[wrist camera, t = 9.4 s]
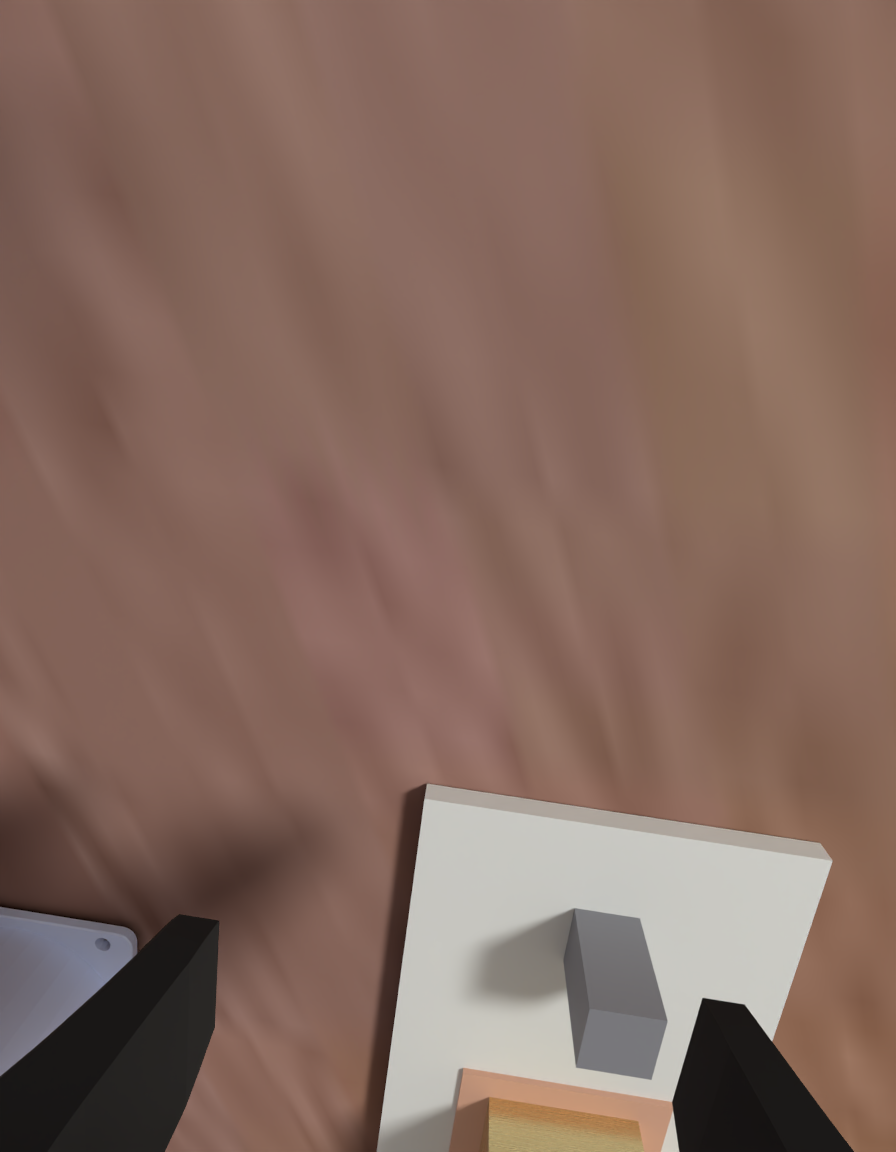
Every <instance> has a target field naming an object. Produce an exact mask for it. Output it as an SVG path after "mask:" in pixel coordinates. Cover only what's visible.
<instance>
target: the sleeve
mask: <svg viewBox="0 0 896 1152" xmlns="http://www.w3.org/2000/svg"><path fill="white" fill-rule="evenodd" d="M479 1152H644V1148H643V1143H642V1138H641V1133H640V1128H639V1123H638V1121H634V1120H628V1119H622V1118H616V1117H610V1116H604V1115H597V1114H591V1113H585V1112H579V1111H573V1110H567V1109H560V1108H554V1107H548V1106H542V1105H536V1104H530V1103H524V1102H517V1101H511V1100H505V1099H499V1098H493V1097H489V1101H488V1106H487V1112H486V1117H485V1122H484V1128H483V1133H482V1138H481V1144H480V1149H479Z"/></svg>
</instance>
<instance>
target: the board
mask: <svg viewBox="0 0 896 1152" xmlns="http://www.w3.org/2000/svg"><path fill="white" fill-rule="evenodd" d="M831 864H832V859H831V858H830V856H829V855H828V854H827V852H826V851H825V849H824V848H823V847H822V845H821V844H820V843H816V842H809V841H803V840H796V839H790V838H783V837H776V836H770V835H763V834H757V833H750V832H743V831H737V830H730V829H723V828H717V827H710V826H704V825H697V824H690V823H684V822H677V821H671V820H664V819H657V818H651V817H644V816H638V815H631V814H624V813H618V812H611V811H605V810H598V809H591V808H585V807H578V806H571V805H565V804H558V803H552V802H545V801H538V800H532V799H525V798H519V797H512V796H505V795H499V794H492V793H486V792H479V791H472V790H466V789H459V788H452V787H446V786H439V785H433V784H427V787H426V793H425V799H424V806H423V814H422V821H421V828H420V836H419V843H418V851H417V858H416V865H415V873H414V880H413V887H412V895H411V902H410V910H409V917H408V924H407V932H406V939H405V947H404V954H403V961H402V969H401V976H400V983H399V991H398V998H397V1006H396V1013H395V1020H394V1028H393V1035H392V1043H391V1050H390V1057H389V1065H388V1072H387V1080H386V1087H385V1094H384V1102H383V1109H382V1116H381V1124H380V1131H379V1139H378V1146H377V1152H479V1149H480V1144H481V1138H482V1133H483V1128H484V1122H485V1117H486V1112H487V1106H488V1101H489V1097H493V1098H499V1099H505V1100H511V1101H517V1102H524V1103H530V1104H536V1105H542V1106H548V1107H554V1108H560V1109H567V1110H573V1111H579V1112H585V1113H591V1114H597V1115H604V1116H610V1117H616V1118H622V1119H628V1120H634V1121H638V1123H639V1128H640V1133H641V1138H642V1143H643V1148H644V1152H679V1147H678V1140H677V1133H676V1126H675V1120H674V1113H673V1106H672V1100H673V1097H674V1094H675V1090H676V1087H677V1083H678V1080H679V1076H680V1073H681V1070H682V1066H683V1063H684V1059H685V1056H686V1052H687V1049H688V1046H689V1042H690V1039H691V1035H692V1032H693V1029H694V1025H695V1022H696V1018H697V1015H698V1011H699V1008H700V1005H701V1001H702V998H708V999H714V1000H720V1001H726V1002H733V1003H739V1004H745V1006H746V1007H747V1008H748V1010H749V1011H750V1012H751V1014H752V1015H753V1016H754V1018H755V1019H756V1020H757V1022H758V1023H759V1025H760V1026H761V1027H762V1029H763V1030H764V1031H765V1033H766V1034H767V1035H768V1037H769V1038H770V1040H771V1041H772V1040H773V1037H774V1034H775V1031H776V1028H777V1025H778V1022H779V1019H780V1016H781V1013H782V1010H783V1007H784V1004H785V1001H786V998H787V995H788V993H789V990H790V987H791V984H792V981H793V978H794V975H795V972H796V969H797V966H798V963H799V960H800V957H801V954H802V951H803V948H804V945H805V942H806V939H807V936H808V933H809V930H810V927H811V924H812V921H813V918H814V915H815V912H816V909H817V906H818V903H819V900H820V897H821V894H822V891H823V888H824V885H825V882H826V879H827V876H828V873H829V870H830V867H831Z"/></svg>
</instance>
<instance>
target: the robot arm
mask: <svg viewBox="0 0 896 1152" xmlns="http://www.w3.org/2000/svg"><path fill="white" fill-rule="evenodd" d="M218 937H219V921H218V920H211V919H205V918H199V917H192V916H186V915H180V914H179V915H178V916H176V917H175V918H173V919H172V920H171V921H170V922H169V923H168V924H167V925H166V926H165V927H164V928H163V929H162V930H161V931H160V932H159V933H158V934H157V935H156V936H155V937H154V938H153V939H152V940H151V941H150V942H149V943H148V944H146V945H145V946H144V947H143V948H142V949H141V950H140V951H139V952H138V953H137V938H136V935H135V934H134V932H133V931H132V930H130V929H129V928H126V927H123V926H116V925H110V924H104V923H98V922H91V921H85V920H79V919H73V918H66V917H60V916H54V915H48V914H41V913H35V912H29V911H23V910H16V909H10V908H4V907H0V1152H165V1150H166V1148H167V1146H168V1144H169V1141H170V1139H171V1137H172V1135H173V1133H174V1131H175V1129H176V1127H177V1124H178V1122H179V1120H180V1118H181V1116H182V1114H183V1111H184V1109H185V1107H186V1104H187V1102H188V1099H189V1096H190V1094H191V1091H192V1088H193V1086H194V1083H195V1080H196V1078H197V1075H198V1072H199V1070H200V1067H201V1064H202V1061H203V1059H204V1056H205V1053H206V1050H207V1047H208V1045H209V1042H210V1039H211V1036H212V1033H213V1031H214V1028H215V1008H216V984H217V961H218ZM105 939H107V940H108V941H107V940H105ZM672 1106H673V1113H674V1120H675V1126H676V1133H677V1140H678V1147H679V1152H854V1151H853V1150H852V1148H851V1147H850V1146H849V1145H848V1143H847V1142H846V1141H845V1139H844V1138H843V1137H842V1135H841V1134H840V1133H839V1132H838V1130H837V1129H836V1128H835V1126H834V1125H833V1124H832V1122H831V1121H830V1120H829V1118H828V1117H827V1116H826V1114H825V1113H824V1112H823V1110H822V1109H821V1108H820V1106H819V1105H818V1104H817V1102H816V1101H815V1099H814V1098H813V1097H812V1095H811V1094H810V1093H809V1091H808V1090H807V1089H806V1087H805V1086H804V1085H803V1083H802V1082H801V1081H800V1079H799V1078H798V1076H797V1075H796V1074H795V1072H794V1071H793V1070H792V1068H791V1067H790V1066H789V1064H788V1063H787V1061H786V1060H785V1059H784V1057H783V1056H782V1055H781V1053H780V1052H779V1051H778V1049H777V1048H776V1046H775V1045H774V1044H773V1042H772V1041H771V1040H770V1038H769V1037H768V1035H767V1034H766V1033H765V1031H764V1030H763V1029H762V1027H761V1026H760V1025H759V1023H758V1022H757V1020H756V1019H755V1018H754V1016H753V1015H752V1014H751V1012H750V1011H749V1010H748V1008H747V1007H746V1006H745V1004H739V1003H733V1002H726V1001H720V1000H714V999H708V998H702V1001H701V1005H700V1008H699V1011H698V1015H697V1018H696V1022H695V1025H694V1029H693V1032H692V1035H691V1039H690V1042H689V1046H688V1049H687V1052H686V1056H685V1059H684V1063H683V1066H682V1070H681V1073H680V1076H679V1080H678V1083H677V1087H676V1090H675V1094H674V1097H673V1100H672Z"/></svg>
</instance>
